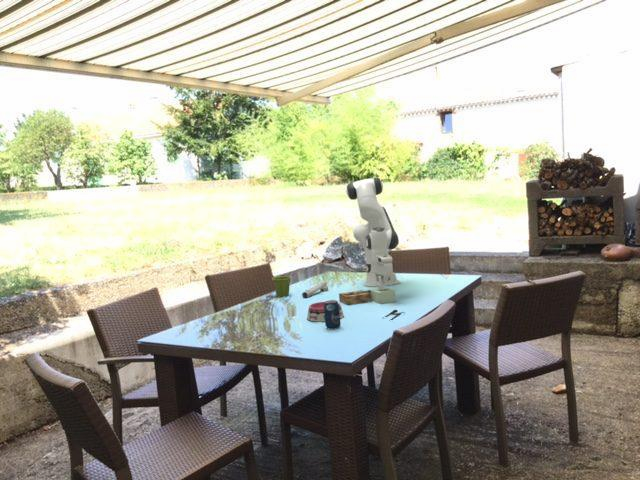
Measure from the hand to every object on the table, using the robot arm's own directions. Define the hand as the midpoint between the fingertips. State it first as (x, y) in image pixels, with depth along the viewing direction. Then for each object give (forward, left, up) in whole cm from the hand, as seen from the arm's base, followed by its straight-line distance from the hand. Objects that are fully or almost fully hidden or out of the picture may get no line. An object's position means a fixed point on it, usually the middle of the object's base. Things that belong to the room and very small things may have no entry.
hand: (382, 282), depth 288 cm
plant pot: (+42, -55, -10) cm, 70 cm away
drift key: (+5, -9, -10) cm, 14 cm away
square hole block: (0, 0, -10) cm, 10 cm away
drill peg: (0, 0, -10) cm, 10 cm away
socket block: (+13, -9, -10) cm, 19 cm away
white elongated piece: (+23, -46, -11) cm, 53 cm away
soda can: (+43, +36, -10) cm, 57 cm away
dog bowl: (+40, +16, -11) cm, 44 cm away
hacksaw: (+13, +37, -11) cm, 40 cm away
